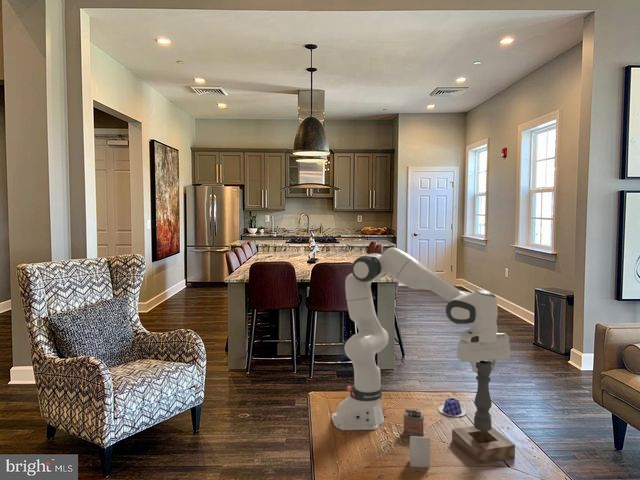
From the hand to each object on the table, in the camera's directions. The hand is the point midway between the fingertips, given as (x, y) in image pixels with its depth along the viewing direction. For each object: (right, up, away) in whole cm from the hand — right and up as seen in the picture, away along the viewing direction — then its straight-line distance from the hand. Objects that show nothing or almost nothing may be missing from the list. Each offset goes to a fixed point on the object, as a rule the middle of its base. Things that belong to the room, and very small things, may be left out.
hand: (483, 371), depth 164 cm
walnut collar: (0, -30, +2) cm, 30 cm away
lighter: (-23, -30, +14) cm, 40 cm away
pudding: (-2, -28, +34) cm, 44 cm away
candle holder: (0, -22, +2) cm, 22 cm away
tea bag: (-25, -31, -7) cm, 41 cm away
